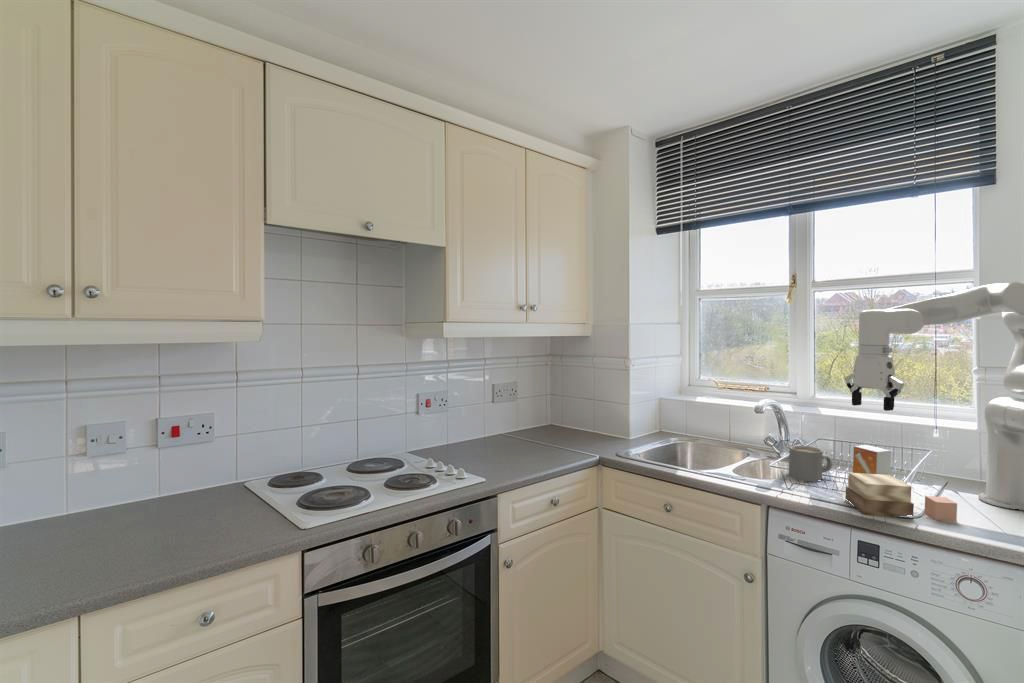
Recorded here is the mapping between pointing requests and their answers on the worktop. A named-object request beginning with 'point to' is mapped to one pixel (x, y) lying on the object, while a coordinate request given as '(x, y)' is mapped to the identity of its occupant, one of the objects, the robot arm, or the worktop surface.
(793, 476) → the coffee mug
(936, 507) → the terracotta cube
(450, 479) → the worktop surface
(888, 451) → the small box
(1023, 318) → the robot arm
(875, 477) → the tower top block
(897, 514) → the tower base block
